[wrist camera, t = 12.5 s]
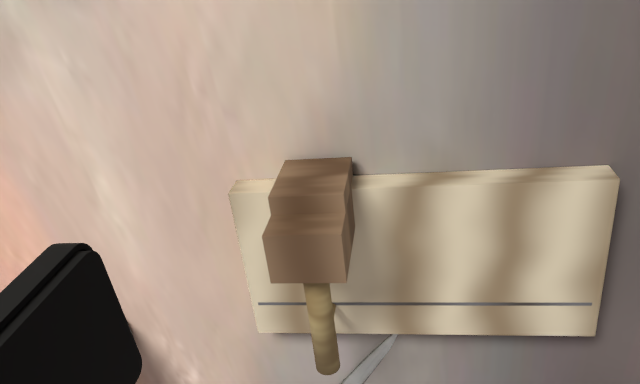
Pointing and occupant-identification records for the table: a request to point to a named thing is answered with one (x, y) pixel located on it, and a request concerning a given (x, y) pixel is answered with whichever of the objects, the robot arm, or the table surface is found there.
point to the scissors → (370, 362)
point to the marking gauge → (313, 241)
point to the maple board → (453, 253)
